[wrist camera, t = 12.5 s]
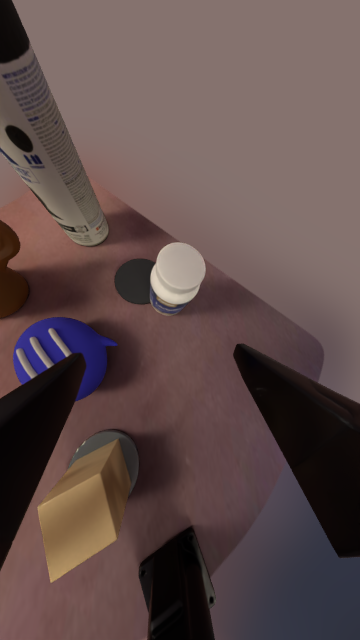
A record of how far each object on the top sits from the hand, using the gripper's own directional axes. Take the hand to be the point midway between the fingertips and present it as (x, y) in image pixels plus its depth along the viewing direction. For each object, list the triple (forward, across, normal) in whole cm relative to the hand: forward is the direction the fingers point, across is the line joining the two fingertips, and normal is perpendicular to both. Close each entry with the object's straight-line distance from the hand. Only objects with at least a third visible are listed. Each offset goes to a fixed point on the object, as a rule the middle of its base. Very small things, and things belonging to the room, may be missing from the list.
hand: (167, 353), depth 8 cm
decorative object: (+10, +10, +9) cm, 17 cm away
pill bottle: (+15, -2, +2) cm, 15 cm away
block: (0, +7, +18) cm, 19 cm away
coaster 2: (+17, +3, 0) cm, 18 cm away
